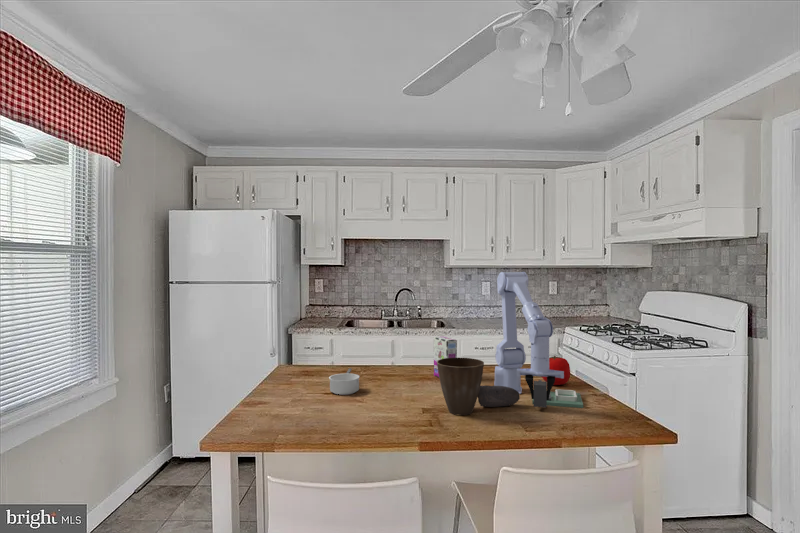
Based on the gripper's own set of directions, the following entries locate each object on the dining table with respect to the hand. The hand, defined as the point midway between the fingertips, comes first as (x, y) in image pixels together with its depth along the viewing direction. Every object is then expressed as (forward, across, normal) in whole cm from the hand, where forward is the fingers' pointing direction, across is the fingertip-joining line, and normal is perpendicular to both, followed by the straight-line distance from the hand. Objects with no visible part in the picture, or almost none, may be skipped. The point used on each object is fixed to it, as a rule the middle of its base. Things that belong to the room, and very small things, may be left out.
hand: (540, 398), depth 156 cm
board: (+3, +6, +12) cm, 14 cm away
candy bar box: (+4, -38, +33) cm, 50 cm away
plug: (+2, 0, 0) cm, 2 cm away
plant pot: (+4, -24, -9) cm, 26 cm away
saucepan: (+4, -70, +7) cm, 71 cm away
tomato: (+4, +6, +34) cm, 35 cm away
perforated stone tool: (+4, -13, 0) cm, 14 cm away
